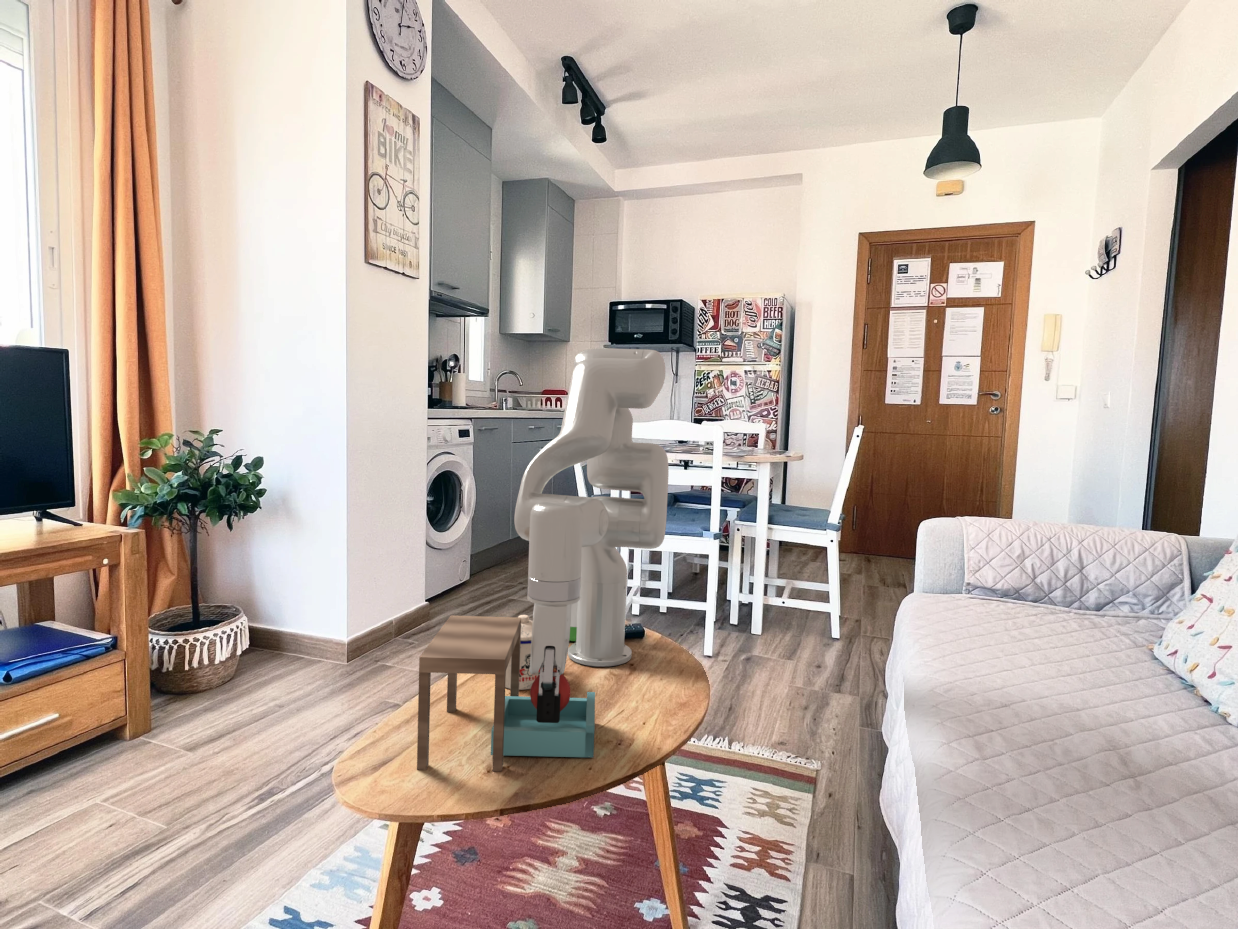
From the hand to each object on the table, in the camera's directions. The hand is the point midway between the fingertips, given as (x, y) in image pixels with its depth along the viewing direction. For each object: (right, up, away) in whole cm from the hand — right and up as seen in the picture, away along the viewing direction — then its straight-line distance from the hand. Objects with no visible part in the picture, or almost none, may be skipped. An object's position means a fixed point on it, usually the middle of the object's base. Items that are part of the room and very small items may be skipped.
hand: (549, 710), depth 94 cm
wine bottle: (+1, -2, +45) cm, 45 cm away
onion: (0, -1, 0) cm, 1 cm away
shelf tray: (-1, -4, 0) cm, 4 cm away
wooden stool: (-11, -4, 0) cm, 12 cm away
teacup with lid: (-6, -3, +22) cm, 23 cm away
